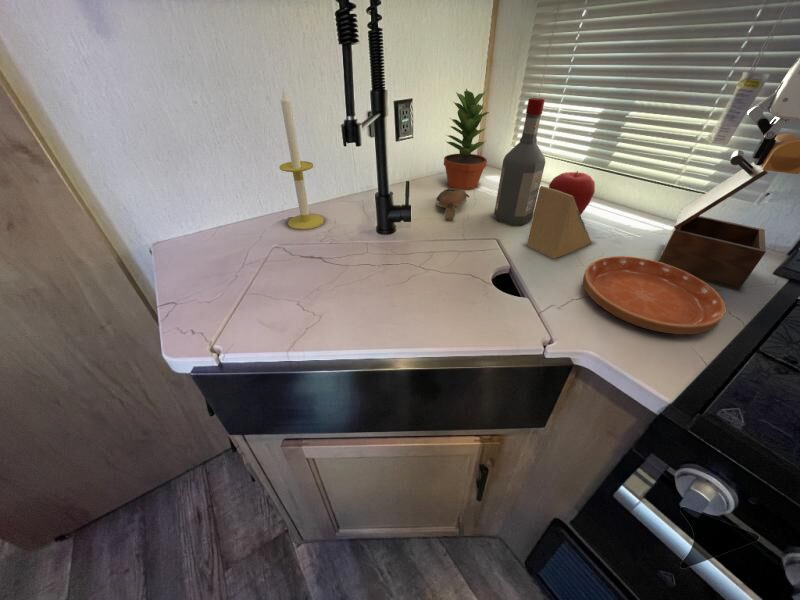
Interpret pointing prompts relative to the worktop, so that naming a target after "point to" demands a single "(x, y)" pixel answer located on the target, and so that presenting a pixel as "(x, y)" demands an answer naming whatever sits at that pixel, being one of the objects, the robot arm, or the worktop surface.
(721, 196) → the bread lid
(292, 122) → the candle
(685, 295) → the saucer
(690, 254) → the bin
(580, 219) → the sandwich container
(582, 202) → the apple
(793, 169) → the orange cylinder
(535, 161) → the liquor
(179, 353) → the worktop surface
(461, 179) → the potted plant
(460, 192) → the toy tortoise
